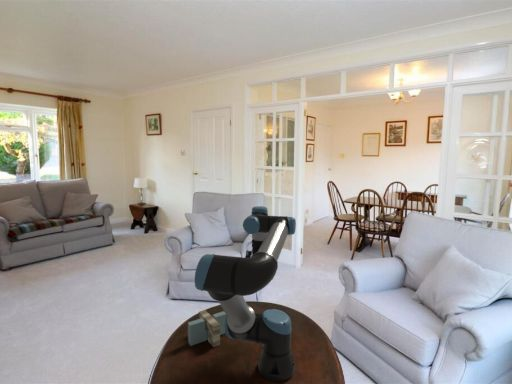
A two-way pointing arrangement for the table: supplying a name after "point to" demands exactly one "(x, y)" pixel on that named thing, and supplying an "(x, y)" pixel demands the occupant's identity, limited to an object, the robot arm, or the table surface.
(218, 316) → the base plate
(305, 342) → the table surface
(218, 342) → the beige bar
